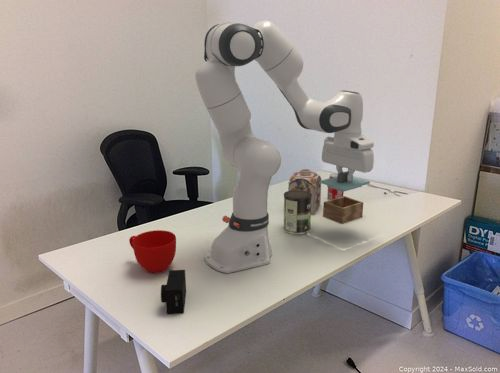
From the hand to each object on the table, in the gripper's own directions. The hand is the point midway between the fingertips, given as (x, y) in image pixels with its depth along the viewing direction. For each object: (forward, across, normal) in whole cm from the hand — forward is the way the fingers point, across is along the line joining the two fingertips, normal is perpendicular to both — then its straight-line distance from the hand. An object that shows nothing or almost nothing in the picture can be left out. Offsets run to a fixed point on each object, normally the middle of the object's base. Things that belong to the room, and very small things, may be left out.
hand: (344, 179), depth 141 cm
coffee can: (+22, -15, -8) cm, 28 cm away
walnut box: (+22, -12, +14) cm, 28 cm away
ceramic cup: (+22, -20, -64) cm, 71 cm away
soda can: (+22, -29, +28) cm, 46 cm away
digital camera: (+22, +2, -67) cm, 70 cm away
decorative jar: (+22, -28, +8) cm, 36 cm away
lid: (+3, 0, 0) cm, 3 cm away
